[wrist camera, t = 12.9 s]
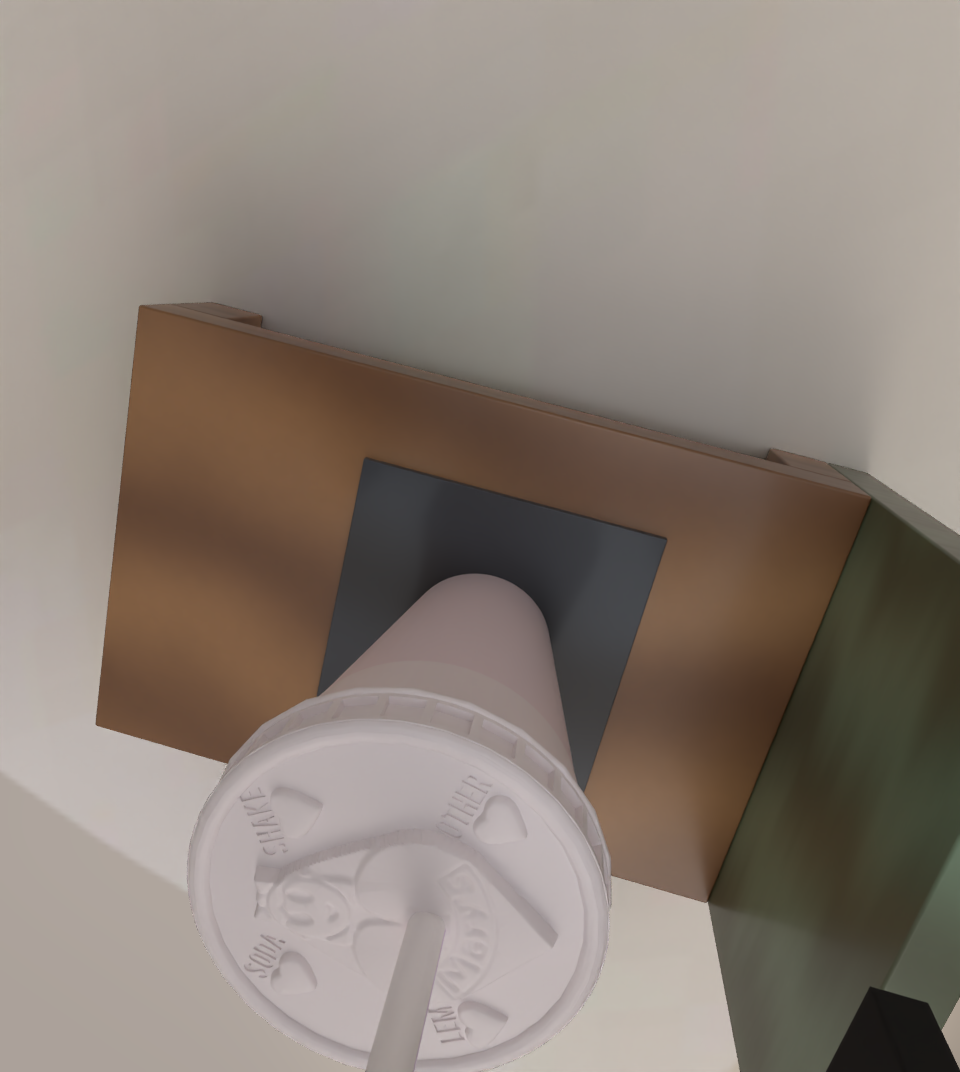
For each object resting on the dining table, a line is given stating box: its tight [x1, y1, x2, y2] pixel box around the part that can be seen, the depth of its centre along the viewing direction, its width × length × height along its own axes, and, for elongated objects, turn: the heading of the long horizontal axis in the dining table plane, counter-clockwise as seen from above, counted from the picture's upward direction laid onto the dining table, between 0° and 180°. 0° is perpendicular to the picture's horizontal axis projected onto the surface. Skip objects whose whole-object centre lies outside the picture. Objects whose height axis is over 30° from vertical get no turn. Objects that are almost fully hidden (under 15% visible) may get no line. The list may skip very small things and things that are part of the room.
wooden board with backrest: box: [96, 302, 960, 1072], centre depth 19 cm, size 12×19×12 cm, turn 76°
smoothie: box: [187, 574, 611, 1072], centre depth 14 cm, size 6×6×14 cm
